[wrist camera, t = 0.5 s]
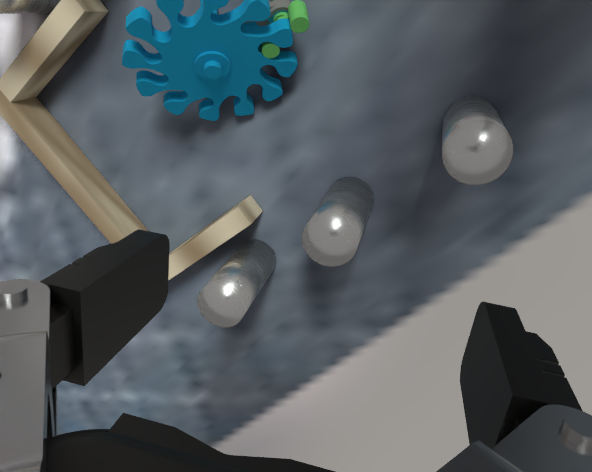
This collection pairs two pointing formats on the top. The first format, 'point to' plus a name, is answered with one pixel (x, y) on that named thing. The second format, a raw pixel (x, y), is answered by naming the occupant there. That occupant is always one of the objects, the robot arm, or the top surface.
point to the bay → (66, 154)
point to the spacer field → (340, 200)
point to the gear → (215, 52)
